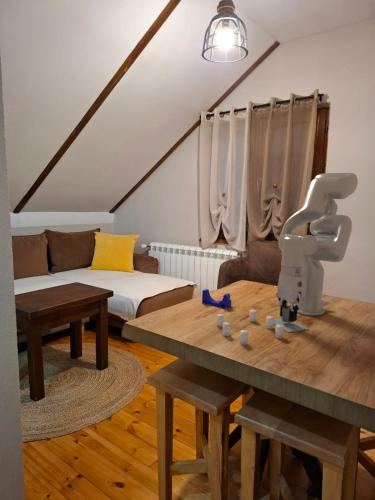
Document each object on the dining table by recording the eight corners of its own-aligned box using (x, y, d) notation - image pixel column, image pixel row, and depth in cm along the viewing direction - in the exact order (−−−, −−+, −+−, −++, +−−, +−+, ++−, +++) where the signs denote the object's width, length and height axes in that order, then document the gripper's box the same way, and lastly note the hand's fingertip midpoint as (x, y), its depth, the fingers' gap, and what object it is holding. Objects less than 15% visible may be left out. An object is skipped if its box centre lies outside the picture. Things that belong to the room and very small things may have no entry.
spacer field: (257, 318, 135) (258, 308, 134) (289, 337, 118) (290, 326, 117) (210, 325, 127) (211, 314, 126) (237, 346, 110) (237, 334, 109)
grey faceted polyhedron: (289, 317, 131) (290, 304, 131) (297, 321, 127) (298, 308, 127) (278, 319, 130) (279, 306, 129) (286, 323, 126) (287, 310, 125)
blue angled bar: (231, 306, 149) (231, 293, 148) (226, 309, 145) (226, 295, 144) (207, 301, 156) (207, 288, 155) (202, 303, 152) (202, 290, 151)
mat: (286, 318, 136) (286, 317, 136) (308, 329, 125) (308, 328, 125) (267, 320, 132) (267, 319, 132) (288, 332, 122) (288, 331, 121)
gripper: (316, 275, 119) (312, 325, 122) (285, 265, 134) (281, 310, 137) (299, 276, 116) (295, 328, 119) (269, 266, 132) (266, 312, 135)
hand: (288, 317), depth 128 cm, fingers closed on grey faceted polyhedron, 4 cm apart
